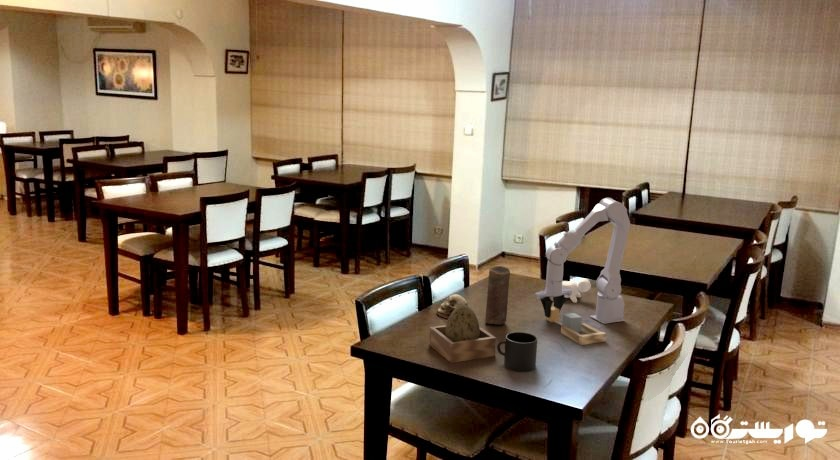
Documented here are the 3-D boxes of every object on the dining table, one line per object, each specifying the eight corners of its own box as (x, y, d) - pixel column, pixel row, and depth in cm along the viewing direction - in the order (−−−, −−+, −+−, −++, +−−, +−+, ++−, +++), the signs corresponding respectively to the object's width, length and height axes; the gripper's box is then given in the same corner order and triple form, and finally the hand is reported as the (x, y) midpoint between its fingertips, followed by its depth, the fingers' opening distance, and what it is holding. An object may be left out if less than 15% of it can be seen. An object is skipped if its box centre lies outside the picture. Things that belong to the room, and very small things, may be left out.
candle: (508, 321, 249) (511, 267, 245) (504, 328, 243) (507, 272, 238) (487, 318, 252) (490, 264, 248) (482, 325, 245) (485, 270, 241)
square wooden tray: (471, 338, 232) (472, 321, 231) (495, 355, 218) (496, 337, 217) (429, 344, 226) (429, 327, 224) (450, 362, 212) (451, 344, 211)
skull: (431, 315, 251) (437, 290, 255) (437, 327, 259) (442, 302, 264) (464, 319, 247) (469, 292, 252) (469, 330, 255) (474, 305, 260)
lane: (583, 329, 244) (584, 322, 243) (605, 341, 233) (606, 333, 233) (560, 333, 240) (561, 325, 239) (581, 345, 229) (582, 336, 229)
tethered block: (555, 318, 254) (556, 303, 253) (580, 332, 241) (581, 316, 240) (544, 319, 253) (545, 305, 251) (569, 333, 239) (570, 318, 238)
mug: (500, 356, 218) (502, 328, 216) (538, 362, 214) (540, 334, 212) (491, 367, 210) (493, 338, 208) (531, 374, 205) (533, 345, 203)
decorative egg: (468, 359, 215) (470, 313, 212) (438, 351, 220) (439, 306, 217) (484, 348, 224) (486, 304, 220) (455, 341, 229) (456, 297, 226)
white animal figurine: (555, 307, 277) (591, 299, 270) (548, 286, 276) (585, 278, 270) (560, 301, 284) (596, 293, 278) (554, 281, 284) (589, 273, 277)
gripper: (564, 274, 256) (561, 310, 259) (530, 278, 250) (528, 314, 253) (576, 280, 250) (573, 316, 253) (542, 284, 244) (539, 321, 247)
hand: (551, 316), depth 252 cm, fingers closed on tethered block, 3 cm apart
